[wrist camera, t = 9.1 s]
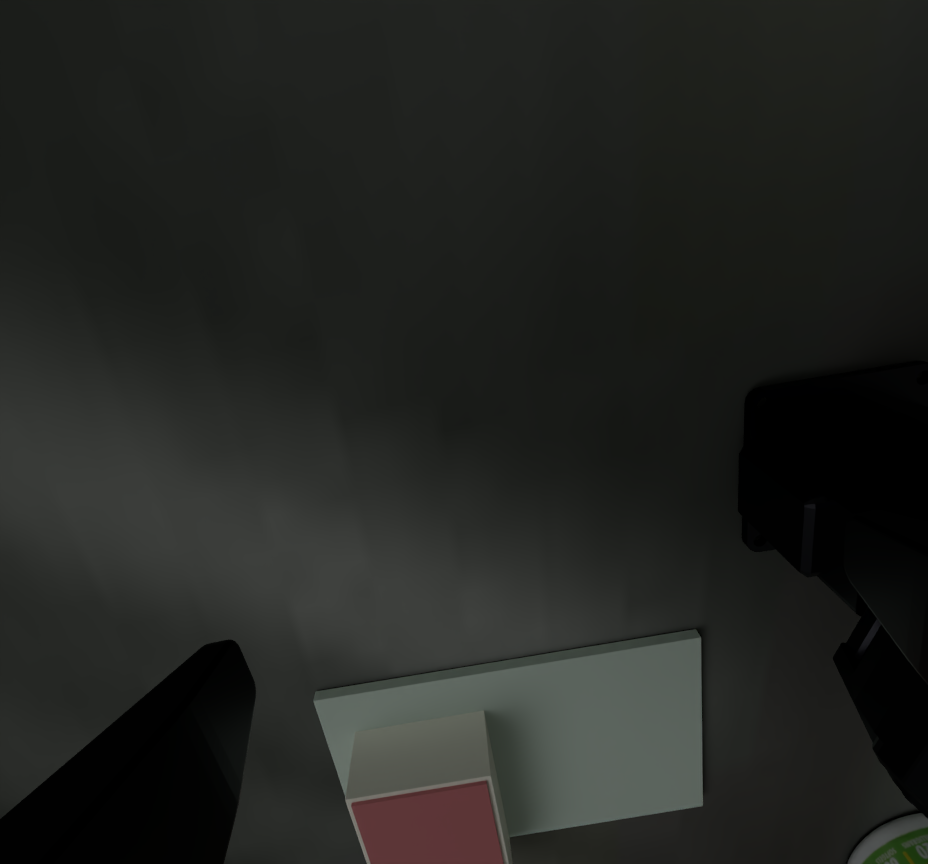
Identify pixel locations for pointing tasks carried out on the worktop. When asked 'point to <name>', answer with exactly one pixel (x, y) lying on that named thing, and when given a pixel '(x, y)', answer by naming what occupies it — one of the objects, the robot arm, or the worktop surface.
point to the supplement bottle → (895, 843)
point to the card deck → (428, 793)
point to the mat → (558, 727)
